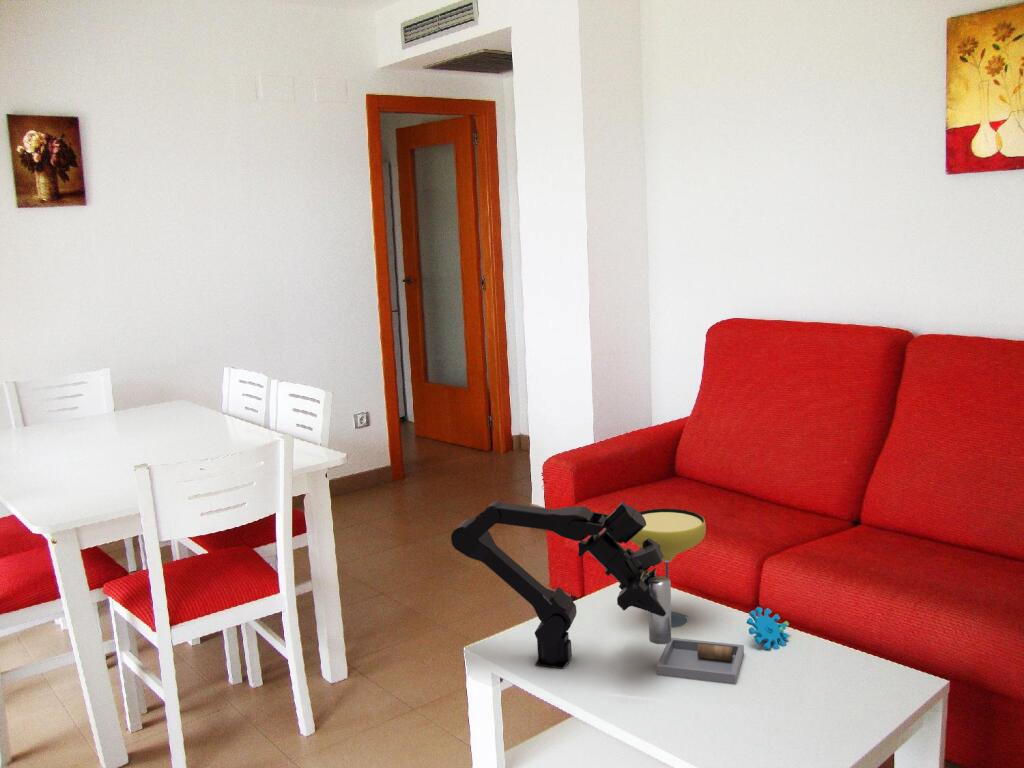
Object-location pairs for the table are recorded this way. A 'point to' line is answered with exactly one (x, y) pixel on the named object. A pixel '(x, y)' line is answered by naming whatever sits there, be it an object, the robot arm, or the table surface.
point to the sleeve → (662, 593)
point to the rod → (715, 652)
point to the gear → (767, 628)
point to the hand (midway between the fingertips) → (666, 610)
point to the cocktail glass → (672, 538)
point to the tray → (698, 662)
